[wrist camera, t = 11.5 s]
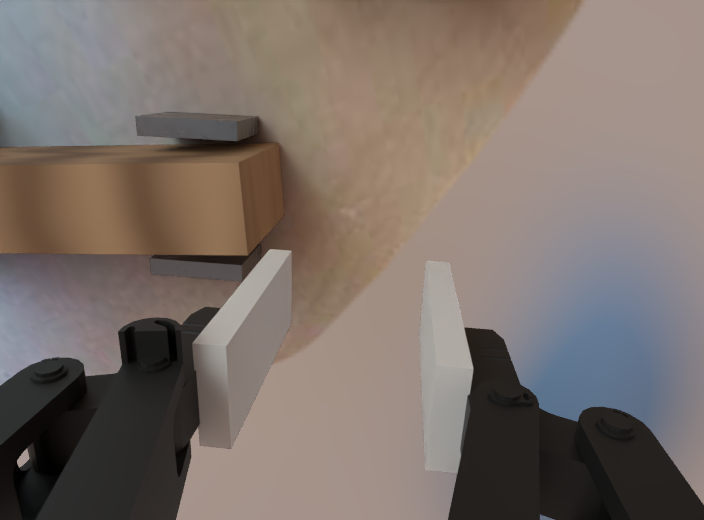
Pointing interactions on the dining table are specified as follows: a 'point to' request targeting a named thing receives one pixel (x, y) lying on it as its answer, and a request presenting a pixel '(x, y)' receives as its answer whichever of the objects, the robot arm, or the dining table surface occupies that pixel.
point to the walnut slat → (139, 198)
